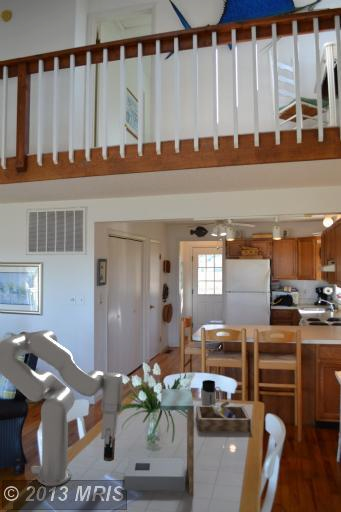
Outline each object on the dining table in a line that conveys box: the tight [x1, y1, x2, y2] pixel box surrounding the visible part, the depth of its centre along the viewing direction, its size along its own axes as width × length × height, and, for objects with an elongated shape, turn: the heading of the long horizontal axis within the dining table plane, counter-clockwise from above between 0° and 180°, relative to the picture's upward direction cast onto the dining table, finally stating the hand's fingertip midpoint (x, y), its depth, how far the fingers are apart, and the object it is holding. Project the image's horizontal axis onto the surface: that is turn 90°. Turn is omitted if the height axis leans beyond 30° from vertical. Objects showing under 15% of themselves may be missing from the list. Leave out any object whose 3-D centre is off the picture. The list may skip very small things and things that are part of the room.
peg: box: [103, 436, 116, 462], centre depth 149 cm, size 4×4×10 cm
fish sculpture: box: [211, 401, 236, 418], centre depth 204 cm, size 12×20×15 cm
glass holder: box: [201, 379, 222, 406], centre depth 228 cm, size 9×14×15 cm, turn 38°
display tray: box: [195, 405, 252, 433], centre depth 205 cm, size 26×20×6 cm
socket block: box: [124, 457, 186, 492], centre depth 149 cm, size 22×14×5 cm, turn 90°
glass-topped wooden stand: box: [160, 388, 195, 496], centre depth 150 cm, size 12×20×32 cm, turn 0°
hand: (109, 453), depth 149 cm, fingers closed on peg, 4 cm apart
